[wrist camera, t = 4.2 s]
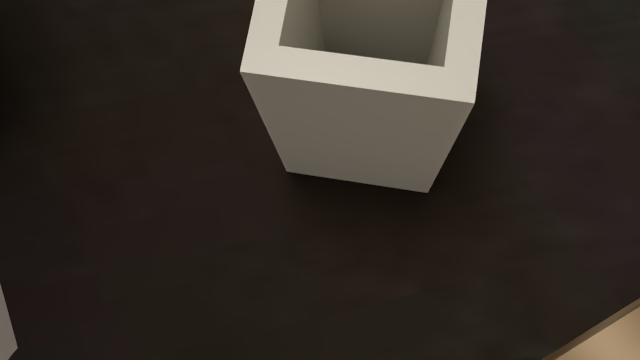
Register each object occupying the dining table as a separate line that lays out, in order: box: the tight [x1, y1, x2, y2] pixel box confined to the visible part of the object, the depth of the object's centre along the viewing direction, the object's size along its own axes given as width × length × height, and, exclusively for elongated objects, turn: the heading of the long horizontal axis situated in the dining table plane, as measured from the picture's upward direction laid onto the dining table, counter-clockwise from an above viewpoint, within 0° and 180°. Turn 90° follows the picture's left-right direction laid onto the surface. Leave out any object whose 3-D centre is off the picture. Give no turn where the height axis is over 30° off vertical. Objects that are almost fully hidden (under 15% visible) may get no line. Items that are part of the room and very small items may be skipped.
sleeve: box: [240, 0, 487, 193], centre depth 24 cm, size 7×7×12 cm
